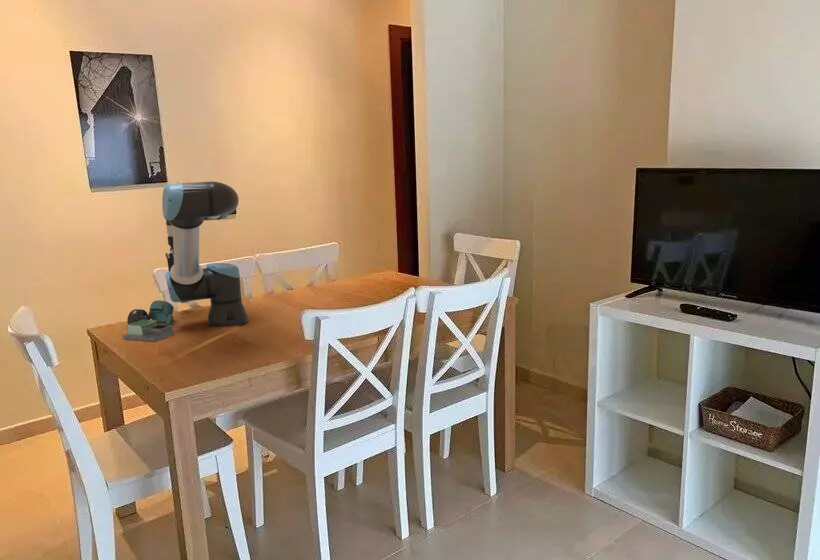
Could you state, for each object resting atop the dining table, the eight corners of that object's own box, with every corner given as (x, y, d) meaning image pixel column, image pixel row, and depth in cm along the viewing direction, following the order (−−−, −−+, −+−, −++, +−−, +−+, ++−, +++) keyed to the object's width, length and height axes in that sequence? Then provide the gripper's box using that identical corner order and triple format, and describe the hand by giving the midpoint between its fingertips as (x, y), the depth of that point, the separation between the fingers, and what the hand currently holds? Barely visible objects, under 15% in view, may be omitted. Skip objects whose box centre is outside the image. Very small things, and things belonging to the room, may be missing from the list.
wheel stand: (153, 329, 241) (151, 307, 240) (138, 334, 234) (135, 312, 232) (140, 328, 244) (138, 306, 242) (125, 333, 236) (122, 311, 235)
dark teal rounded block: (178, 306, 249) (172, 326, 244) (167, 314, 254) (160, 333, 249) (156, 296, 244) (150, 316, 239) (145, 305, 250) (139, 324, 244)
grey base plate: (174, 334, 233) (172, 320, 232) (154, 341, 224) (153, 328, 223) (143, 331, 238) (142, 318, 237) (123, 339, 229) (121, 325, 228)
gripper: (183, 232, 265) (189, 287, 270) (154, 237, 250) (161, 296, 255) (198, 232, 263) (204, 287, 268) (170, 238, 247) (176, 297, 252)
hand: (183, 291), depth 261 cm, fingers closed on pin, 4 cm apart
